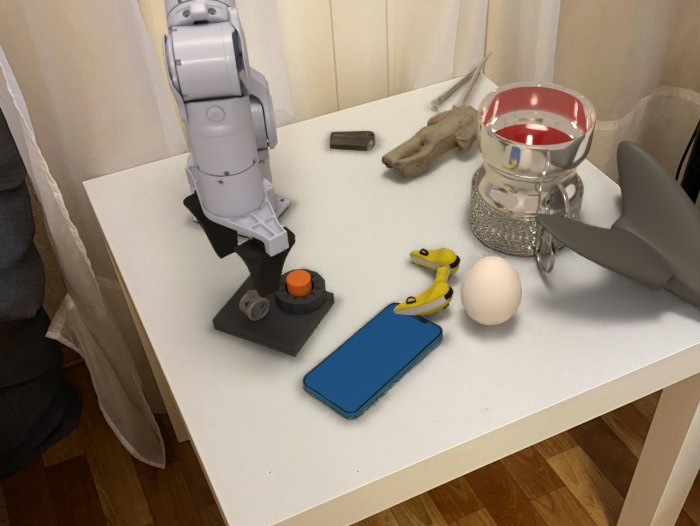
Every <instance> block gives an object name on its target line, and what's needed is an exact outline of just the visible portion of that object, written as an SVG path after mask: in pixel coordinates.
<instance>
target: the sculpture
mask: <svg viewBox="0 0 700 526" xmlns="http://www.w3.org/2000/svg"><path fill="white" fill-rule="evenodd" d="M451 109H452V108H451ZM451 109H448V110H444V111H442V112H439V113H437V114H435V115H432V116H431V117H429V118H428V120H427V124H426V126H425V125H424V126H423V127H421V128H420V129H419V130H418V131H416V132H415V134H414V135H413V136H412V137H410V138H409V139H407V140H405V141H404V142H402V143H401V144H399V145H398V146H396V147H395V148H393V149H392V150H390V151H388V152H387V153H385V154H384V155H382V156H381V163H382V164H383V165H385V168H387V169H389V170H392V169H393V170H394V172H396V173H397V174H399V176H402V177H404V178H414V177H416V176H419V175H420V174H422V173H424V172H425V171H427V170H428V169H430V167H432V166H433V165H434V163H436V161H438V159H440V157H441V156H443V155H444V154H445V153H447V152H449V151H451V150H455V149H457V150H458V152H459V153H460V154H461V153H462V154H466V153H468V152H469V151H470V150H471V148H472V147H473V145H474V144H475V142H477V141H476V129H477V116H478V109H476V108H475V107H474V106H472V105H464V106H460V107H457V108H454V109H452V110H451Z"/></svg>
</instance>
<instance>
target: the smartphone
mask: <svg viewBox="0 0 700 526" xmlns="http://www.w3.org/2000/svg"><path fill="white" fill-rule="evenodd" d="M401 303H402V302H397V301H395V302H394V301H393V302H391V303H389V304H387V305H386V306H385V307H384V308H382V310H380V311H379V312H378V313H377V314H376V315H374V316H373V317H372V318H371V319H369V321H367V322H366V323H365V324H363V326H361V327H360V328H359V329H358V330H357V331H355V332H354V333H353V334H352V335H351V336H350V337H348V338H347V339H346V340H345V341H344V342H342V344H340V345H339V346H338V347H337V348H335V350H333V351H332V352H331V353H330V354H328V355H327V356H326V357H325V358H323V360H321V361H320V362H319V363H318V364H317V365H315V366H314V367H313V368H312V369H311V370H310V371H309V372H307V373H306V374H305V375H304V376H303V377H302V380H301V381H302V387H303V389H304V390H305V391H306V392H308V393H309V394H311V395H312V396H313V397H315V398H317V399H318V400H319V401H320V402H322V403H324V404H325V405H327V406H328V407H329V408H331V409H333V410H334V411H336V412H337V413H339V415H342V416H343V417H344V418H348V419H354V418H357V417H358V416H360V415H361V414H362V413H363V412H364V411H365V410H366V409H367V408H368V407H369V406H370V405H372V404H373V403H374V402H375V401H376V400H377V399H378V398H379V397H381V395H383V394H384V393H385V392H386V391H387V390H388V389H389V388H391V386H393V384H395V383H396V382H397V380H399V379H400V378H401V377H403V375H404V374H405V373H406V372H407V371H408V370H410V369H411V368H412V367H413V366H414V365H415V364H416V363H417V362H418V361H420V360H421V358H423V357H424V356H425V355H426V354H427V353H428V352H429V351H430V350H431V349H433V348H434V347H435V346H436V345H437V344H438V343H439V342H440V341H441V340H442V339H443V335H444V330H443V327H441V325H439V324H437V323H435V322H434V321H433V320H431V319H429V318H427V317H425V315H423V316H422V315H403V314H396V313H394V311H393V310H394V308H395V307H396V306H397V305H399V304H401Z"/></svg>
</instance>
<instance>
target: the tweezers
mask: <svg viewBox="0 0 700 526" xmlns="http://www.w3.org/2000/svg"><path fill="white" fill-rule="evenodd" d="M490 56H492V51H489V52H488V53H487V55H485V56H484V57H483V58H482V59H481V60H480V61H479V62H478V63H477V64H476V65H475V66H474V67H473V68H472V69H471V70H470V71H469V72H468V73H466V75H464V76H463V77H462V78H461V79H459V80H458V81H457V82H456V83H455V84H454V85H452V86H451V87H450V88H448V89H446V90H445V91H444V92H443V93H442V94H440V95H439V96H437V97H436V98H435V99H434V100H432V101H431V103H430V104H431V105H432V106H434V107H436V108H437V109H439V108H440V104H441V103H442V102H444V101H445V100H446V99H447V98H448V97H449V96H451V94H452V93H453V92H454V91H456V90H457V89H458V88H459V87H460V86H461V85H463V83H465V81H467V80H468V79H469V77H471V78H470V80H469V82H468V85H467V86H466V89H465V91H464V93H463V95H462V98H461V100H460V101H459V103H457V104H456V103H454V104H453V105H452V108H451V109H450V110H452V109H454V108H457V107H460V106H465V105H466V103H467V101H468V98H469V97H470V94H471V91H472V89H473V86H474V85H475V83H476V80H477V79H478V77H479V74H480V72H481V71H482V70H483V67H484V66H485V64H486V63H487V61H488V59H489V58H490Z"/></svg>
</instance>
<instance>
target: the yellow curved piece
mask: <svg viewBox="0 0 700 526" xmlns="http://www.w3.org/2000/svg"><path fill="white" fill-rule="evenodd" d="M409 257H410V259H411V261H412V263H413V264H415V265H418V266H420V267H424V268H427V269H430V270H433V271H436V275H435V277H434V281H433V283H432V284H431V285H430V286H429V287H428V288H427V289H425V290H424V291H422V292H421V293H419V294H417V295H415V296H413V295H411V296H408V297H407V298H406V299H405V301H403V302H400V303H401V304H399V305H397V306H396V307H395V308H394V310H393V311H394V313H396V314H403V315H422V316H426V315H428V316H429V315H435V314H437V313H438V311H440V310H442V309H443V310H444V309H446V308H447V307H449V306H450V304H451V302H452V299H453V295H454V288H453V287H452V286H451V285H449V284H448V280H449V276H450V275H451V274H455V273H457V272H458V270H459V268H460V263H461V258H460V256H459V255H457V254H456V253H455V252H454V251H453V250H451V249H450V248H445V247H440V248H435V249H427V248H421V249H420V250H419V249H417V250H413V251H411V252H410V253H409Z"/></svg>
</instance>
